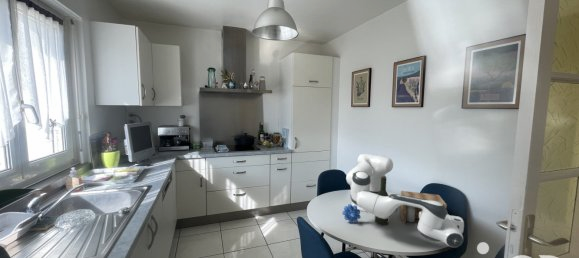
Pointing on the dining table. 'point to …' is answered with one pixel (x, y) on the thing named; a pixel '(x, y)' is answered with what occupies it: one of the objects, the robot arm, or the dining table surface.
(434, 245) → the dining table surface
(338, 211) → the dining table surface
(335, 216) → the dining table surface
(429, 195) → the cubby
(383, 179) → the wine bottle
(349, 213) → the blue knobby ball
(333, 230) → the dining table surface
